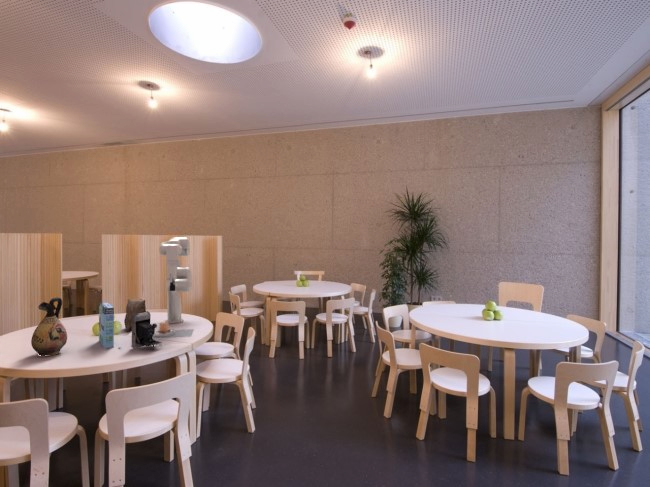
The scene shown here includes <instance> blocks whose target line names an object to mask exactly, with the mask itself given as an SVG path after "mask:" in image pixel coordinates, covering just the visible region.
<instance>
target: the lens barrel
mask: <svg viewBox="0 0 650 487" xmlns="http://www.w3.org/2000/svg"><path fill="white" fill-rule="evenodd" d="M176 330H177V329H176V328H175V329H174V328H169V332H165V333H160V328H159V329H155V333H154V335H153V336H154V337H168V336H172V335H175V333H176Z"/></svg>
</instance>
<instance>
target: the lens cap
mask: <svg viewBox="0 0 650 487" xmlns="http://www.w3.org/2000/svg"><path fill="white" fill-rule="evenodd" d="M169 324H170V323H168V322H165V321H164V322H160V323H159V329H160V333H165V332H169V329H170V328H169V327H170V326H169Z"/></svg>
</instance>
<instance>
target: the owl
mask: <svg viewBox="0 0 650 487" xmlns="http://www.w3.org/2000/svg"><path fill="white" fill-rule="evenodd" d="M125 309H126V310H125V316H124V327H125V331H126V332H127V333H130V332H132V315H134V313H135V314H139V313H144V312H147V309H146V299H141V298H139V299H132V298H128V299H127V303H126V307H125Z"/></svg>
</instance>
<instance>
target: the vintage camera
mask: <svg viewBox="0 0 650 487" xmlns="http://www.w3.org/2000/svg"><path fill="white" fill-rule="evenodd" d="M157 326H158V324H157V323H151V312H150V311H147V310H146V312H144V313H139V314H135V313H134V315H132V331H131V348H132V349H133V350H134V349H137V348H138V349H139V348H142V347H152V351H155V346H156V345H159V344H162V342H161V341H159V340H157V339H152V336H153V335H154V333H155V330H156V328H157Z"/></svg>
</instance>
